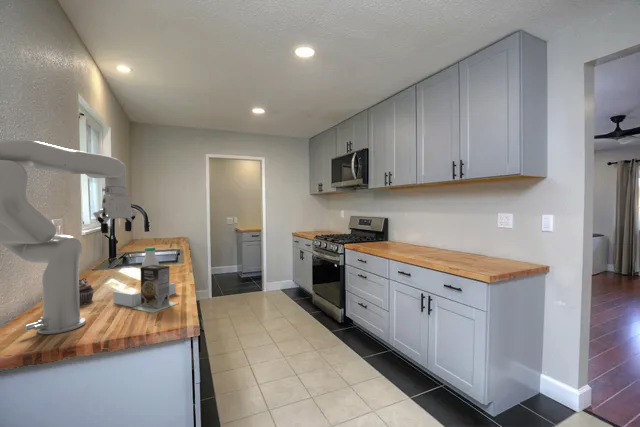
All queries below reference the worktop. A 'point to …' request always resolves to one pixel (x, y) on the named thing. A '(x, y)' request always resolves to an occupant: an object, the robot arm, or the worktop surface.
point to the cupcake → (85, 291)
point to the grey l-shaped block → (134, 297)
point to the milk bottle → (150, 257)
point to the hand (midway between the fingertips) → (116, 232)
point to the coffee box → (154, 286)
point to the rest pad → (154, 308)
